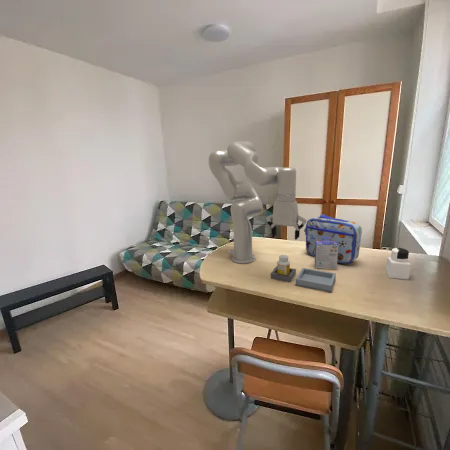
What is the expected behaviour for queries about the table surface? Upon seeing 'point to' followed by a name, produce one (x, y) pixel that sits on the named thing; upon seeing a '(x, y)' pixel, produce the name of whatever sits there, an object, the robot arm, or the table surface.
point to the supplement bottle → (283, 265)
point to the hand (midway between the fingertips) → (285, 237)
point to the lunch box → (334, 236)
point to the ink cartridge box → (326, 254)
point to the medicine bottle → (398, 264)
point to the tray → (316, 279)
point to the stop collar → (283, 277)
